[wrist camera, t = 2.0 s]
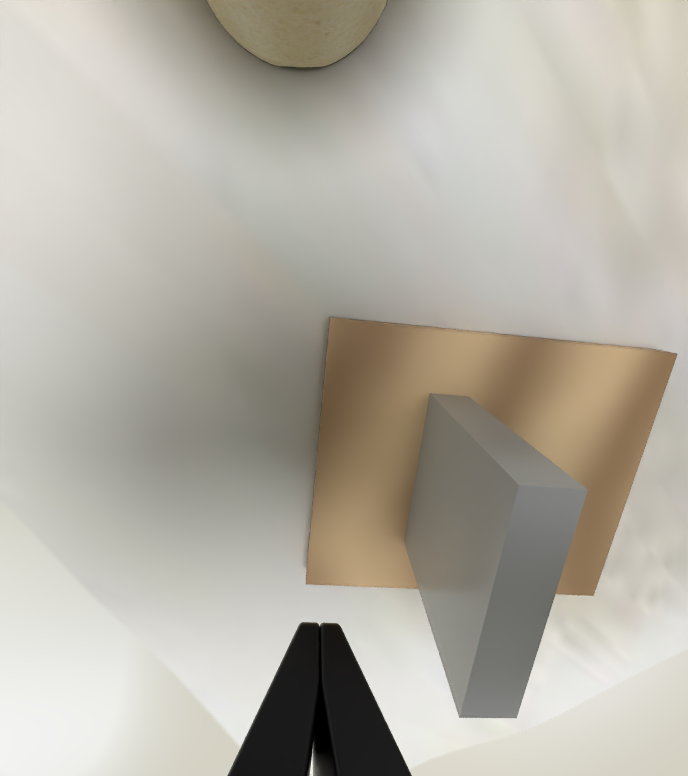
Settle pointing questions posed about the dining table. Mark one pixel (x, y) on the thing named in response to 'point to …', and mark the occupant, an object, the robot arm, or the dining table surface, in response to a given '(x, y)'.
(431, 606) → the tile
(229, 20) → the flower pot
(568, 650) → the dining table surface
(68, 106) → the dining table surface
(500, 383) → the board
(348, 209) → the dining table surface
